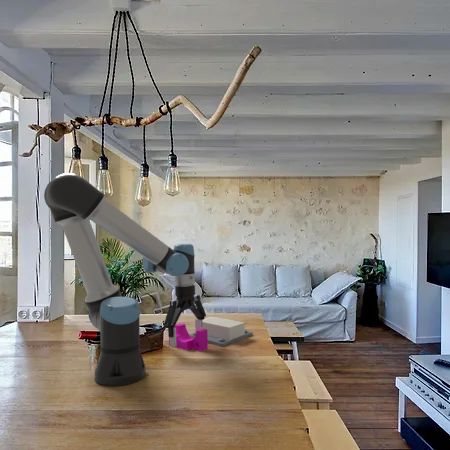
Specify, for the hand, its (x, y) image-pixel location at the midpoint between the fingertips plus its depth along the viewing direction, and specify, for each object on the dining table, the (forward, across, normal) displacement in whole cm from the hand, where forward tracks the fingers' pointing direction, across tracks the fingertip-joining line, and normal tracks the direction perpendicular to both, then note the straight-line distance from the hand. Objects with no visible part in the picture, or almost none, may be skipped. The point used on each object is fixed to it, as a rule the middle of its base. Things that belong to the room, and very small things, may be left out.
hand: (186, 340), depth 141 cm
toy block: (+3, +2, +1) cm, 4 cm away
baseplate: (+3, +20, 0) cm, 20 cm away
